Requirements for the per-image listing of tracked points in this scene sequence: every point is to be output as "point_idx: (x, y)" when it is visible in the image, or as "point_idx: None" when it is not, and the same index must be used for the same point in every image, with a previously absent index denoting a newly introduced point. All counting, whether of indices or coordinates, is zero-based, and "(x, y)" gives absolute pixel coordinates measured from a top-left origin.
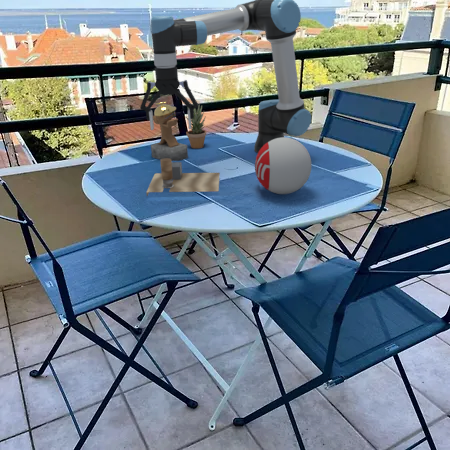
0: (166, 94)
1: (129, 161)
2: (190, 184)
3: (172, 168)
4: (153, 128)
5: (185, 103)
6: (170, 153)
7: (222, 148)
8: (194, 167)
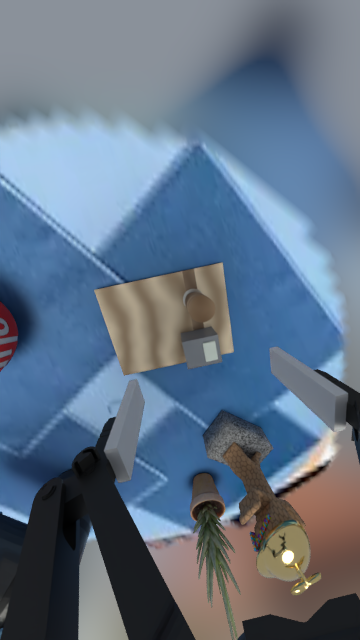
0: (325, 618)
1: (292, 405)
2: (155, 313)
3: (196, 338)
4: (271, 363)
5: (114, 503)
6: (228, 424)
7: (161, 480)
8: (179, 399)
